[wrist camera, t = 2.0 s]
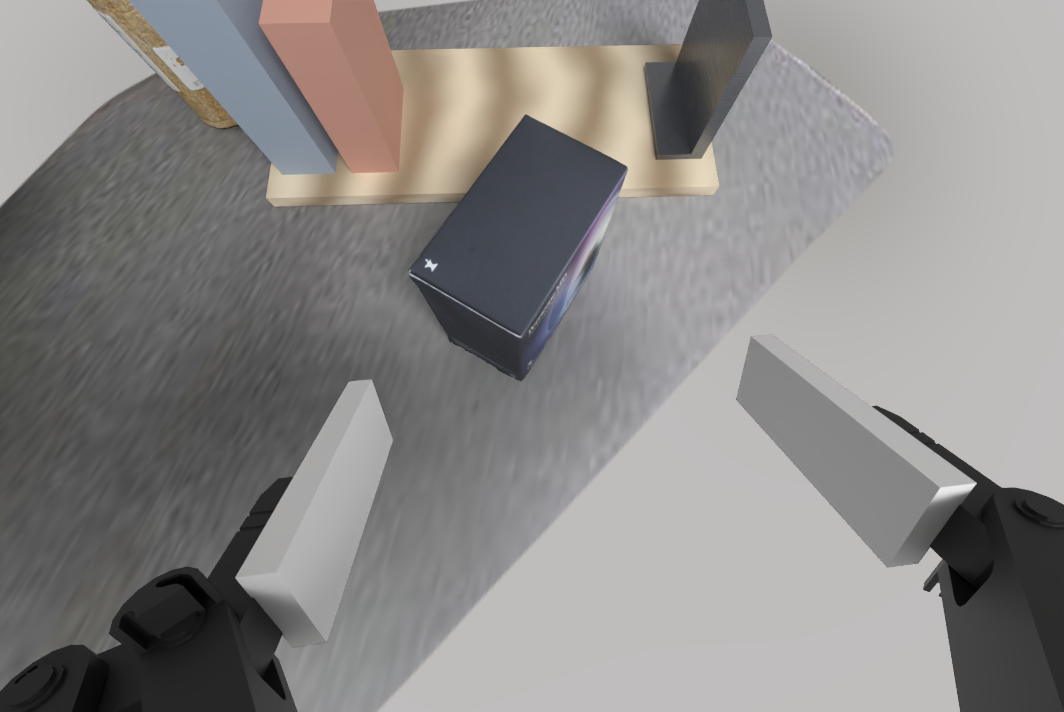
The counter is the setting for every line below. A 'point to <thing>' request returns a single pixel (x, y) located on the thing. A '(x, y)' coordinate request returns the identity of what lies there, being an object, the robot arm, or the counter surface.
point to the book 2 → (342, 74)
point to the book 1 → (245, 78)
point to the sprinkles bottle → (162, 59)
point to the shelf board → (509, 123)
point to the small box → (519, 245)
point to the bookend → (704, 76)
